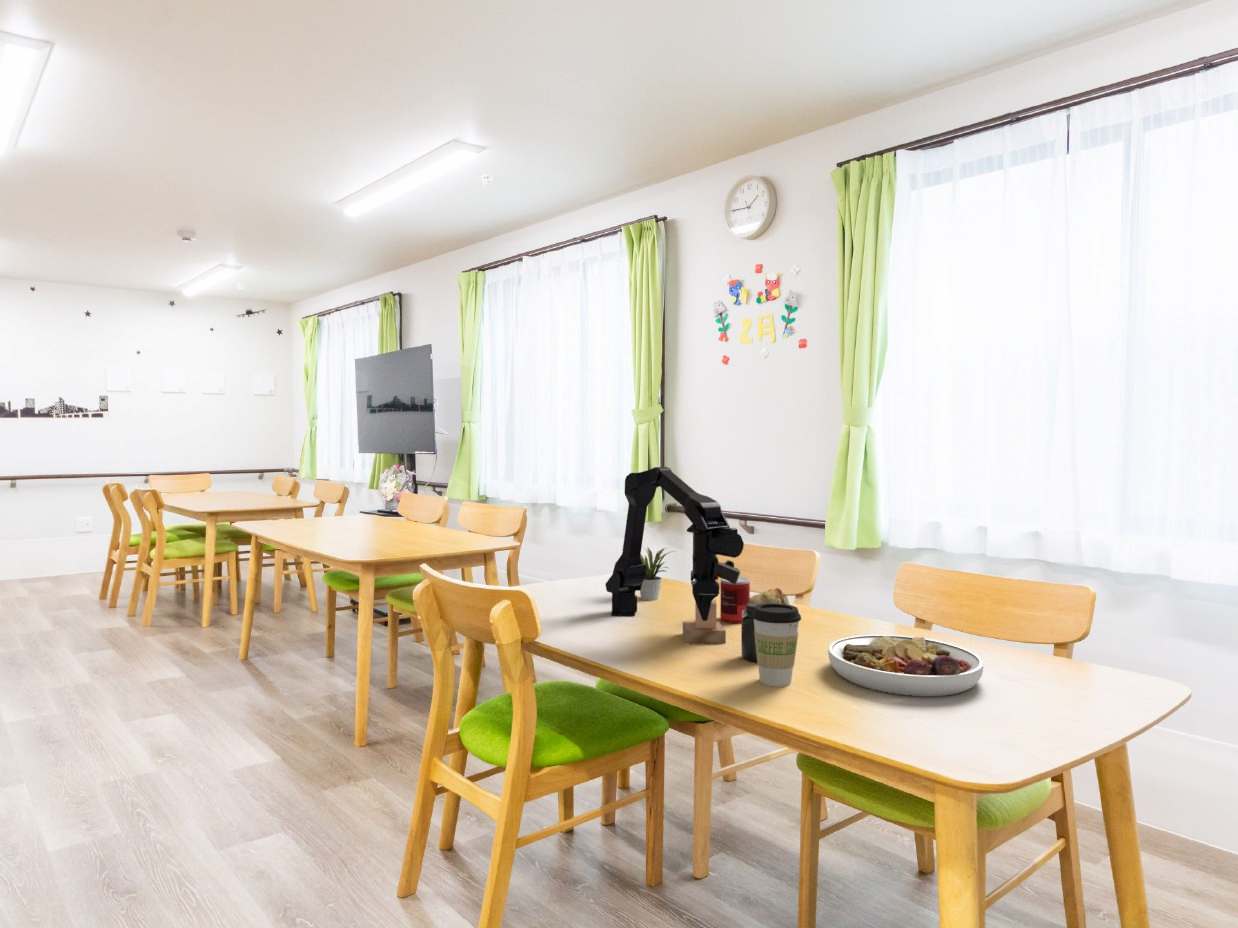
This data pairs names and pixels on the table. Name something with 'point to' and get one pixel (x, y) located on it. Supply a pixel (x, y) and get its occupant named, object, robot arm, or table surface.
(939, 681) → the bowl
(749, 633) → the supplement bottle
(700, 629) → the walnut box
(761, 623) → the coffee cup
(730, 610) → the canned food
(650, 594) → the house plant
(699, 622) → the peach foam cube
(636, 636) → the table surface
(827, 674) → the table surface
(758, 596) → the pastry
